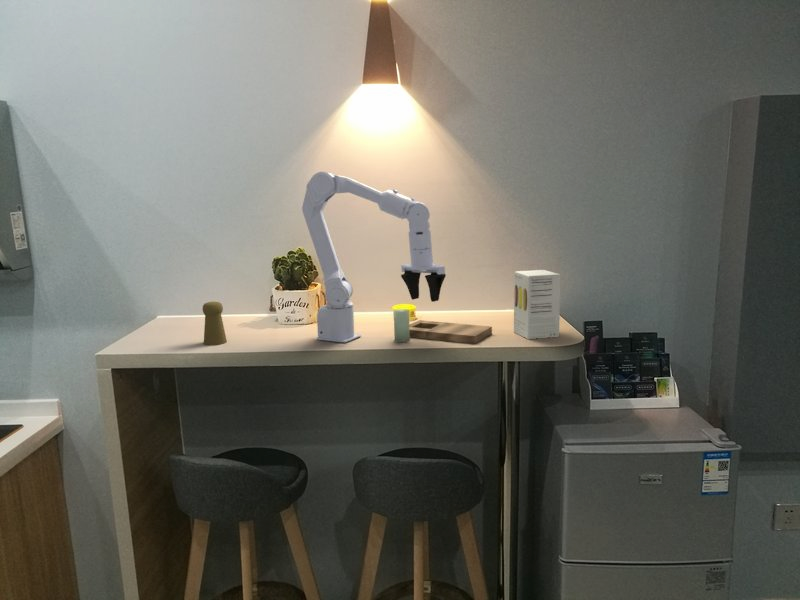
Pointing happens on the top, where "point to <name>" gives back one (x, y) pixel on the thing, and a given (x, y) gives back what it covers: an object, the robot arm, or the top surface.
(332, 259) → the robot arm
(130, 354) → the top surface
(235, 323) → the top surface
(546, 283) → the supplement box
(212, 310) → the cork
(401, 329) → the peg
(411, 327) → the walnut board
